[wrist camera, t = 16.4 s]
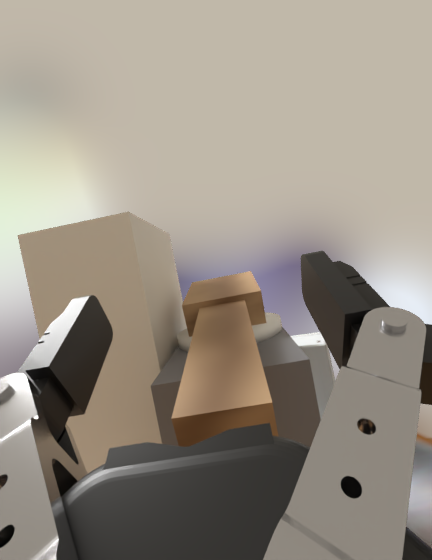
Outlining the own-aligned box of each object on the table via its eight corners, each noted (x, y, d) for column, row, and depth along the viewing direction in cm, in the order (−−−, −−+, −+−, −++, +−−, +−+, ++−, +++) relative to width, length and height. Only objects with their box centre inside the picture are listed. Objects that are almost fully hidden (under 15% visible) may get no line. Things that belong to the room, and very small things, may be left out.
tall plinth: (100, 623, 23) (17, 235, 22) (150, 489, 37) (100, 248, 36) (208, 611, 22) (128, 211, 22) (217, 479, 36) (169, 234, 35)
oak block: (150, 476, 12) (131, 413, 11) (197, 306, 34) (192, 282, 34) (319, 450, 11) (309, 384, 11) (255, 295, 34) (250, 271, 33)
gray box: (210, 684, 18) (147, 370, 18) (220, 498, 33) (186, 323, 33) (366, 669, 18) (306, 343, 17) (305, 486, 33) (272, 308, 32)
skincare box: (345, 428, 42) (327, 329, 41) (349, 456, 36) (329, 342, 36) (288, 427, 45) (271, 335, 44) (283, 452, 39) (263, 347, 39)
